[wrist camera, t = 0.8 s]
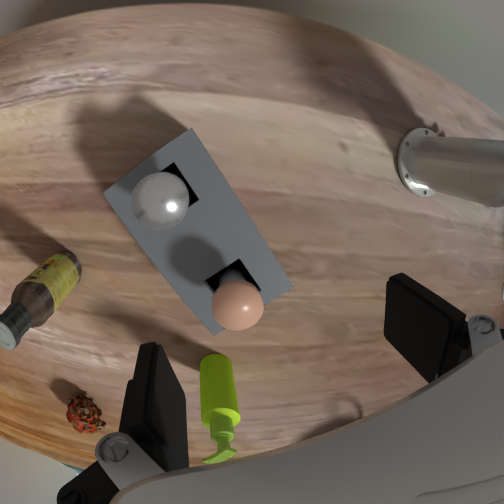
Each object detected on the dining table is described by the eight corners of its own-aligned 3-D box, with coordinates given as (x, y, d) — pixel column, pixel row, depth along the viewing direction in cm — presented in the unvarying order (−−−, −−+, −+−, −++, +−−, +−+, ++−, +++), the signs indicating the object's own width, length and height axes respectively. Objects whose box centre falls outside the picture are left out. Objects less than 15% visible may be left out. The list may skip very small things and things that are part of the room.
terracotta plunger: (237, 251, 35) (246, 276, 28) (259, 283, 37) (272, 313, 30) (202, 274, 35) (202, 303, 28) (225, 304, 37) (230, 338, 30)
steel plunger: (176, 160, 30) (166, 161, 23) (201, 197, 32) (199, 209, 25) (139, 186, 30) (120, 195, 23) (164, 222, 32) (153, 241, 25)
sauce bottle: (65, 242, 38) (-6, 299, 20) (90, 271, 40) (32, 343, 22) (45, 265, 39) (-21, 326, 20) (68, 292, 41) (13, 365, 22)
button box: (195, 134, 37) (191, 127, 27) (275, 258, 45) (293, 286, 35) (126, 184, 37) (102, 193, 28) (211, 299, 45) (213, 335, 36)
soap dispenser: (189, 369, 49) (189, 460, 30) (214, 348, 48) (222, 441, 30) (213, 384, 51) (222, 470, 32) (238, 364, 50) (255, 453, 32)
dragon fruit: (87, 381, 49) (98, 409, 54) (54, 391, 43) (69, 419, 48) (103, 411, 44) (113, 436, 49) (67, 423, 38) (83, 447, 43)
